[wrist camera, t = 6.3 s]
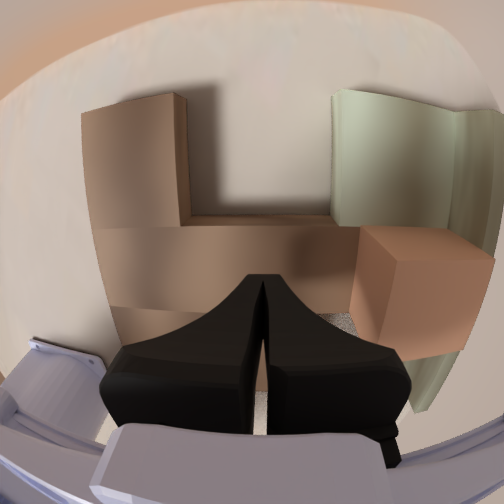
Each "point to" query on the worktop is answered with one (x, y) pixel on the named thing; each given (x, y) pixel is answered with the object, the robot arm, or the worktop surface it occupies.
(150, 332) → the blocky structure
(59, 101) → the worktop surface
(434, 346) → the block
